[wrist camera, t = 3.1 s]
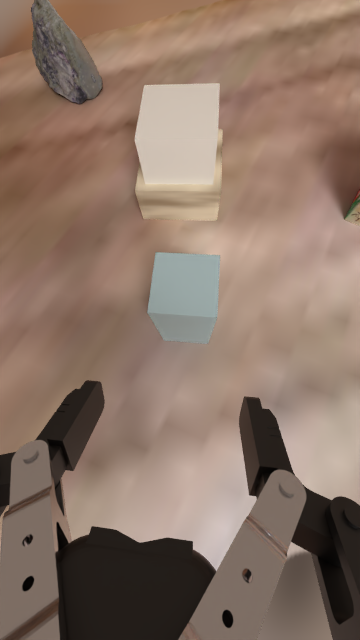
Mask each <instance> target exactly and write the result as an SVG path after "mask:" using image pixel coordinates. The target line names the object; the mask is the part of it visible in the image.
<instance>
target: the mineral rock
mask: <svg viewBox="0 0 360 640" xmlns="http://www.w3.org/2000/svg"><path fill="white" fill-rule="evenodd" d="M31 12H32V20H33V27H34V31H33V41H32V48H33V49H32V51H33V55H34V57H35V60H36V66H37V67H38V69H39V71H40V74H41V75H42V76H43V77H44V80H45V81H46V82H48V83H49V87H51V88H53V90H54V91H55V92H57V93H58V94H61V95H63V96H65V97H66V98H67V99H69V100H70V101H72V102H77V103H78V104H80V103H83V102H84V101H85V100H86V99H93V98H95V97H96V96H97V94H98V93H99V92H100V90H101V89H102V79H101V77H100V75H99V73H98V70H97V68H96V65H95V63H94V61H93V60H92V58H91V56H90V55H89V53H88V51H87V50H86V48H85V46H84V45H83V43H82V41H81V40H80V39H79V38H78V37H77V36H76V35H75V33H74V32H73V31H72V30H71V29H70V28H69V27H68V26H67V25H66V24H65V22H64V20H63V19H62V18H61V17H60V16H59V15H58V13H57V11H56V10H55V9H54V8H53V6H52V5H51V4H50V2H49V1H48V0H34V3H33V5H32V8H31Z"/></svg>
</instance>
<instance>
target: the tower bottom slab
mask: <svg viewBox="0 0 360 640" xmlns="http://www.w3.org/2000/svg"><path fill="white" fill-rule="evenodd" d="M222 131H223V129H218V141H217V151H216V161H215V171H214V181H213V185H205V184H145V181H144V177H143V173H142V169H141V164H140V163H139V169H138V175H137V182H136V188H135V192H136V196H137V199H138V202H139V206H140V209H141V213H142V216H143V219H161V220H209V221H217V216H218V209H219V202H220V195H221V173H222Z"/></svg>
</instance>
